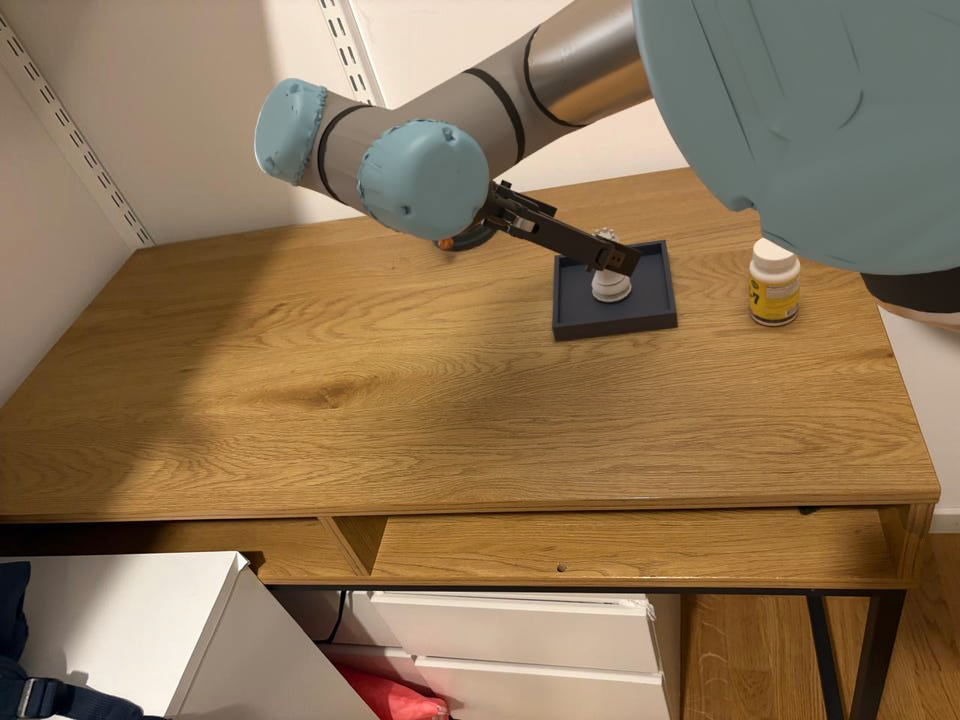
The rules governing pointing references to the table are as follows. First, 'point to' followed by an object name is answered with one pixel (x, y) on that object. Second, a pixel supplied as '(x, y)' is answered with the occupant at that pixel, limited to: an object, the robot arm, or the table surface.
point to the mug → (466, 239)
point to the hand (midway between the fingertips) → (590, 240)
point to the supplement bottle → (773, 284)
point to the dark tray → (634, 313)
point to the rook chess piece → (610, 278)
